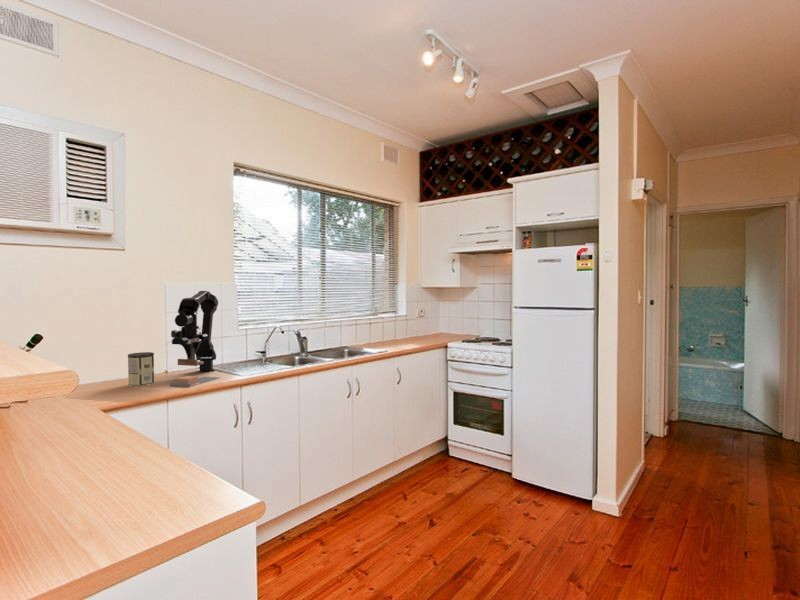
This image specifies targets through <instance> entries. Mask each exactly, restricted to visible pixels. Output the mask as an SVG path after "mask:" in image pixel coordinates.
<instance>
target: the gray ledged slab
mask: <svg viewBox="0 0 800 600" xmlns="http://www.w3.org/2000/svg"><path fill="white" fill-rule="evenodd" d="M218 379H219V380H220V377H217V376H202V377H198V383H197V384H193V385H191V383H179V382H176V381H175V382H174V381H171V382H169V385H170V387H179V388H191V387H194V386H198V385H202V384H204V383H208V382H212V381H216V380H218Z"/></svg>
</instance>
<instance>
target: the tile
mask: <svg viewBox="0 0 800 600" xmlns="http://www.w3.org/2000/svg"><path fill="white" fill-rule="evenodd" d="M198 378H199V376H196V375H195V376H193V375H186V376H185V375H184V376H181V377H178V378H176V381H177V382H179V383H191V385H193V384H197V383H198Z"/></svg>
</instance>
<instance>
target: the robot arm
mask: <svg viewBox="0 0 800 600" xmlns="http://www.w3.org/2000/svg"><path fill="white" fill-rule="evenodd" d="M218 306H219V300H218V297H216V295H214V294H212V293H211V292H210V291H209V290H199V291H198V292H197V293H195V294H194V295H193V296H191V297H184V298H182V299H181V301H180V303H179V307H178V308H177V309H178V310H177V314H178V315H176V316H175V318H174V323H175V325H176V326H178V327H181V330H177V329H174V330H171V332H170V337H171V338H172V339H171V345H179V346H182V347H183V349H184V351H185V353H186V357H187V356H188V357H190V356H191V352H192V347H195V360H197V361H204V364H201V365H199V370H197V371H198V373H199V372H200V373H209V372H210V371H211V372H214V371H213V370H214V363H213V361H215V360H217V353H216V350H215V349H214V347H215V346H214V345H213V343H212V329H213V318H214V314H215V312H216V311H217V310H218ZM199 308H200V310H201V311H202V323H201V325H202V326H201V333H198V329H200V326H198V320H197V319H198V318H197V317H198V310H199ZM211 372H210V373H211Z"/></svg>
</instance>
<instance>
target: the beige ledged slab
mask: <svg viewBox="0 0 800 600" xmlns="http://www.w3.org/2000/svg"><path fill="white" fill-rule="evenodd" d="M186 357H187V358H178V359H177V365H178V366H187V367H188V366H190V367H193V366H194V367H198V366H200V365H201V364H204V361H200V360H196V354H195V347H192V352H191V356H190V357H188V356H187V355H186Z"/></svg>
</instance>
